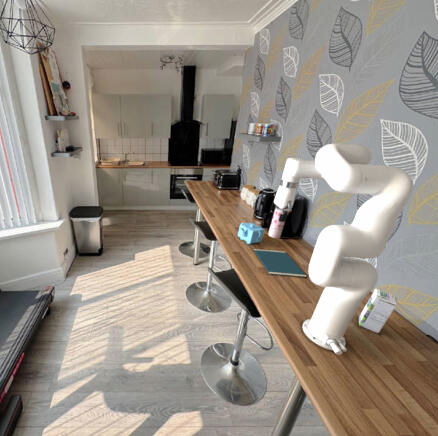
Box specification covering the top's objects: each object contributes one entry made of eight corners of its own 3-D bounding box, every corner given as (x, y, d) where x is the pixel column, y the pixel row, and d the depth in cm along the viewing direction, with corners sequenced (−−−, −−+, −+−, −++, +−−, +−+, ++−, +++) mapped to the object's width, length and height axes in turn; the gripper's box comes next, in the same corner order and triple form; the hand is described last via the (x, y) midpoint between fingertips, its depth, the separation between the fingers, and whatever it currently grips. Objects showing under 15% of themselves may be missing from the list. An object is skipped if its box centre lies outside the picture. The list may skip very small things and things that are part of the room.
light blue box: (268, 244, 145) (272, 227, 140) (245, 248, 138) (249, 231, 134) (249, 233, 158) (253, 217, 154) (227, 236, 152) (231, 220, 147)
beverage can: (280, 239, 120) (289, 212, 114) (268, 237, 122) (276, 210, 116) (279, 234, 125) (287, 208, 119) (267, 232, 127) (274, 206, 121)
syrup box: (358, 316, 93) (374, 287, 87) (378, 324, 90) (396, 295, 84) (358, 325, 89) (375, 295, 83) (379, 334, 85) (398, 303, 80)
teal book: (307, 277, 115) (307, 276, 115) (269, 274, 116) (269, 273, 116) (284, 251, 137) (284, 251, 137) (253, 249, 138) (253, 248, 138)
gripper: (273, 179, 120) (265, 212, 127) (289, 188, 105) (278, 225, 112) (288, 180, 120) (279, 213, 127) (306, 190, 104) (294, 226, 111)
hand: (279, 218), depth 119 cm, fingers closed on beverage can, 5 cm apart
